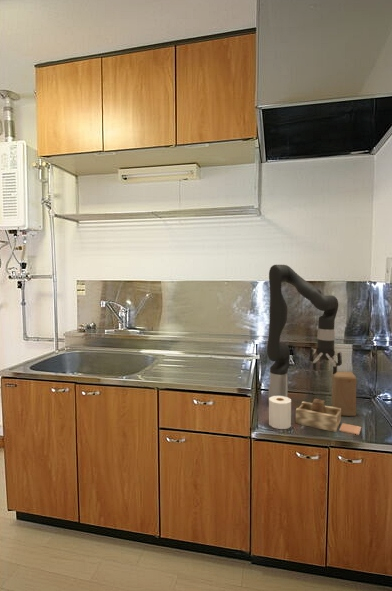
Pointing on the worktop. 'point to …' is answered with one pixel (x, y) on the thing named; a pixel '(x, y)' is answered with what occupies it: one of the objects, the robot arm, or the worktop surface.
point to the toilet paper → (280, 412)
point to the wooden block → (344, 392)
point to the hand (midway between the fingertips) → (324, 372)
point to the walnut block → (318, 405)
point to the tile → (350, 429)
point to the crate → (318, 417)
